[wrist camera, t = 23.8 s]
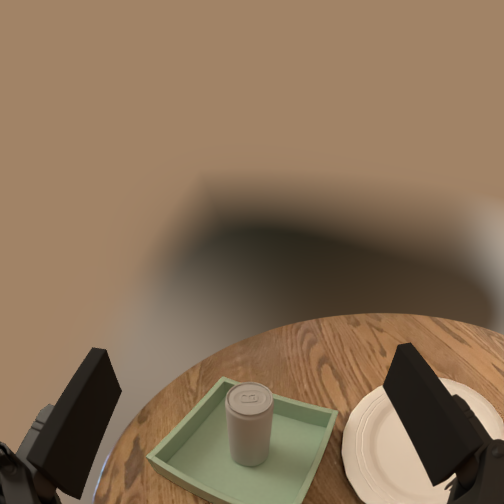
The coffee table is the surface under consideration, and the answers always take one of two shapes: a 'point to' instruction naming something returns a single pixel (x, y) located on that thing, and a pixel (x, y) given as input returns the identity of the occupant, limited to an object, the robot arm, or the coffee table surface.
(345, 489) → the coffee table surface
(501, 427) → the plate
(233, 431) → the beverage can
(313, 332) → the coffee table surface
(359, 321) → the coffee table surface
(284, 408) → the tray
